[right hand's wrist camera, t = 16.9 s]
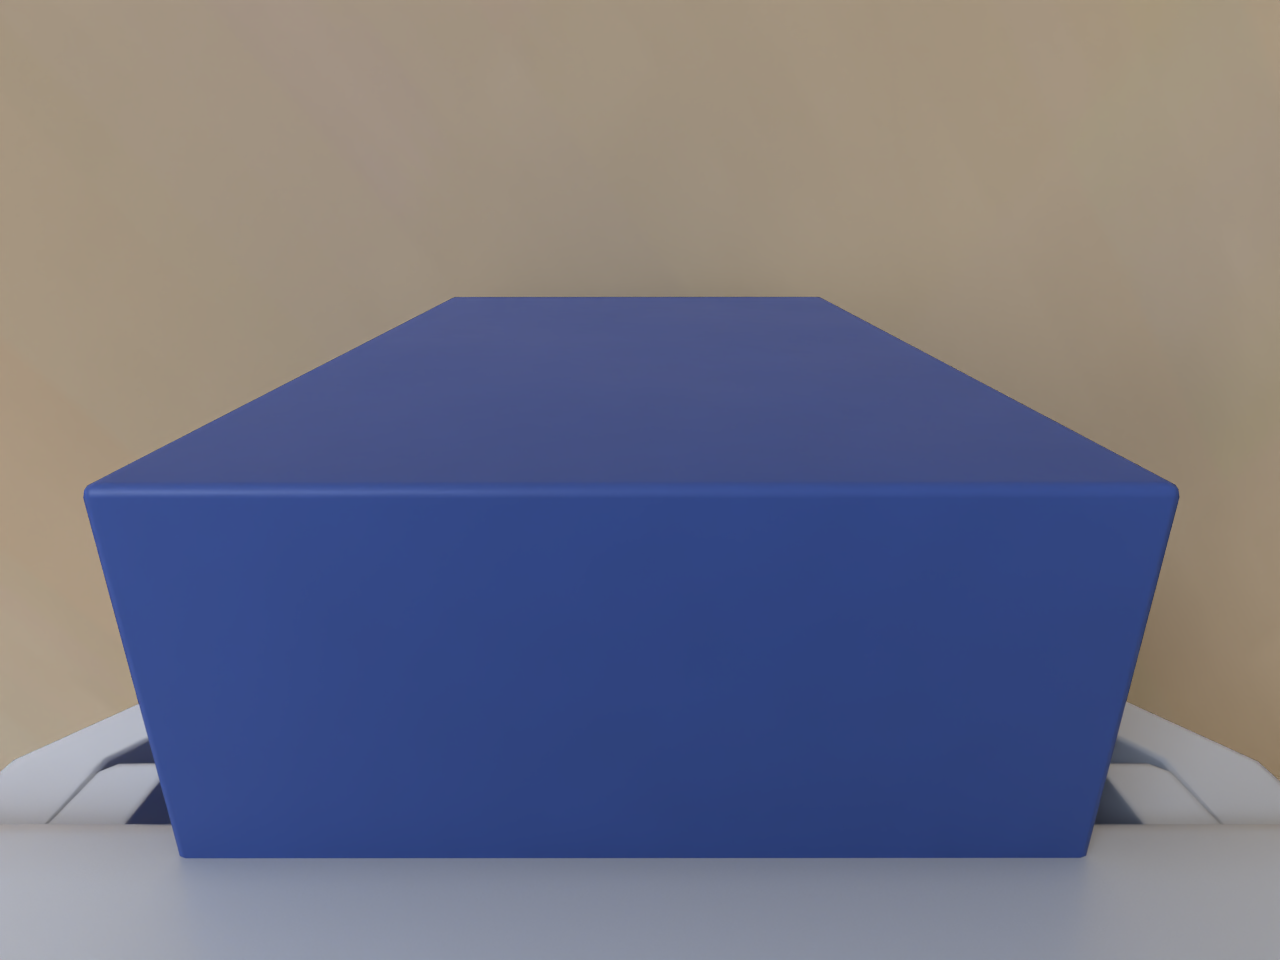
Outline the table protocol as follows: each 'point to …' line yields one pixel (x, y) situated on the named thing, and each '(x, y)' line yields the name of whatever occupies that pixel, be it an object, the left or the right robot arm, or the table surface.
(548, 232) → the table surface
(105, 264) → the table surface
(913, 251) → the table surface
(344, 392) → the bar
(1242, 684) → the table surface
